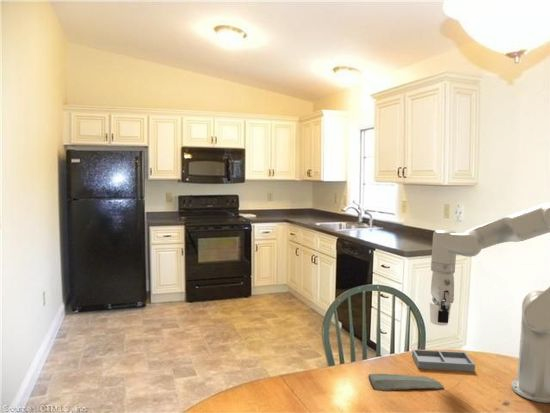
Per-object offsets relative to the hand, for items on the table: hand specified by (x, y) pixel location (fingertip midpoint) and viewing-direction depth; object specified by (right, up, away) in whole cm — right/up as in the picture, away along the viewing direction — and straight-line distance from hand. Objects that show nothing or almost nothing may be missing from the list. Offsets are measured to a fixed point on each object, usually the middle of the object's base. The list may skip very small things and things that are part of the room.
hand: (439, 317), depth 142 cm
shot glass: (0, -2, 0) cm, 2 cm away
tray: (+3, -18, +6) cm, 19 cm away
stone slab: (-14, -20, -8) cm, 25 cm away
